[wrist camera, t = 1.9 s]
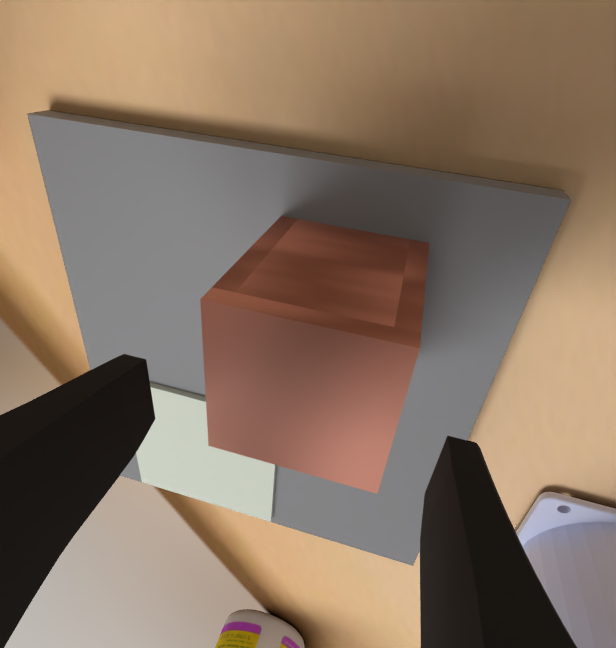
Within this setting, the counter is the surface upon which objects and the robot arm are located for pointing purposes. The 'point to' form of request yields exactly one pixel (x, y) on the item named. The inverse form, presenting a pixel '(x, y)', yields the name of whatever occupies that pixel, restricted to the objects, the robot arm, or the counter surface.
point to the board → (230, 245)
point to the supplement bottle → (258, 632)
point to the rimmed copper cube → (314, 348)
